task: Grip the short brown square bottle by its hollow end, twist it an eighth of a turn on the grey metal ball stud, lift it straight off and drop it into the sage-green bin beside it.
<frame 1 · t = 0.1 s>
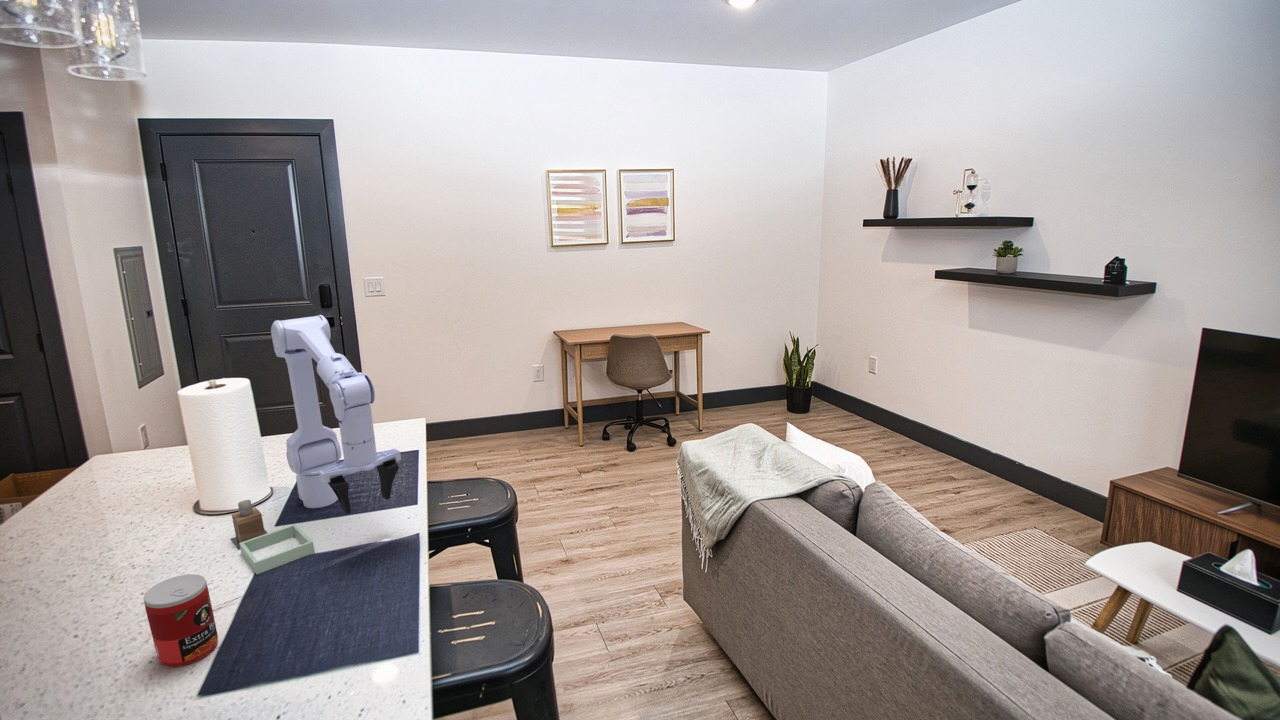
hand: (366, 504, 121), 10 cm above the kitchen island, tool pointing down, fingers open, 7 cm apart
stud plate: (252, 543, 127), on the kitchen island
bin: (278, 558, 122), on the kitchen island
brown square bottle: (251, 538, 127), point 1 cm above the kitchen island, touching stud plate
canned food: (189, 651, 97), on the kitchen island
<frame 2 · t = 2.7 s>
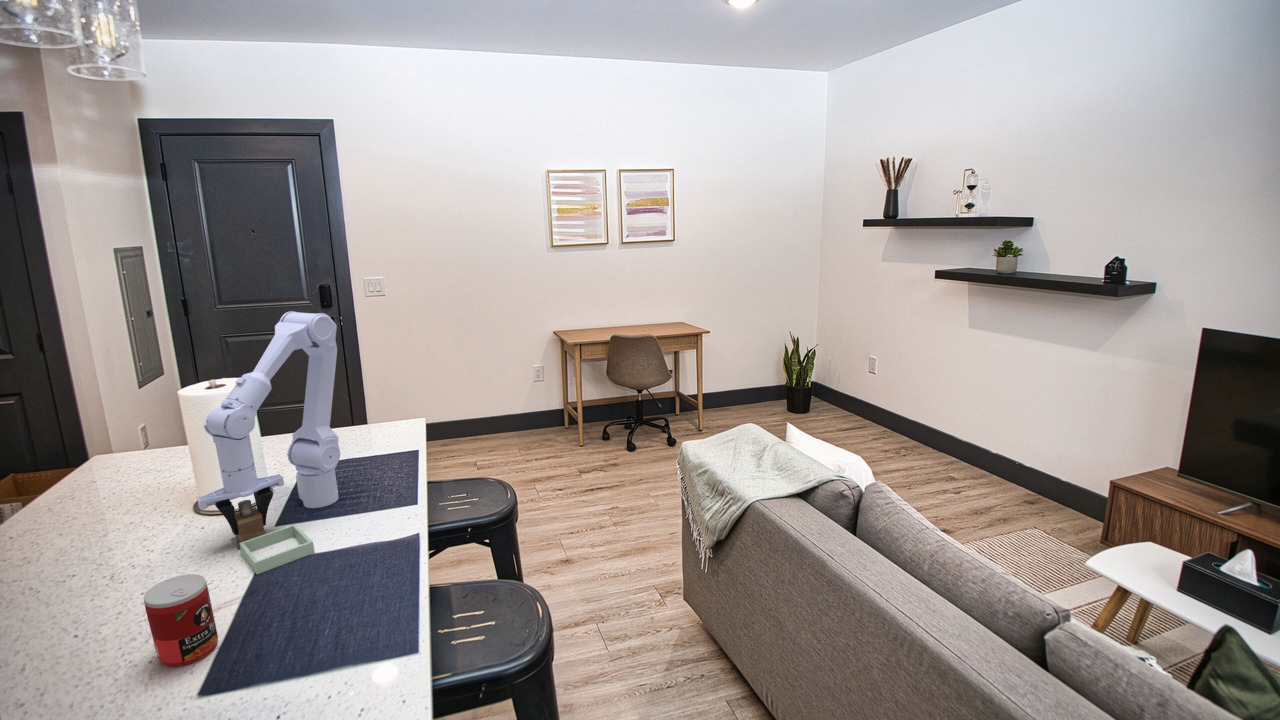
hand: (249, 528, 126), 3 cm above the kitchen island, tool pointing down, fingers closed on brown square bottle, 4 cm apart
brown square bottle: (251, 538, 127), point 1 cm above the kitchen island, touching gripper, stud plate
everything else where it was.
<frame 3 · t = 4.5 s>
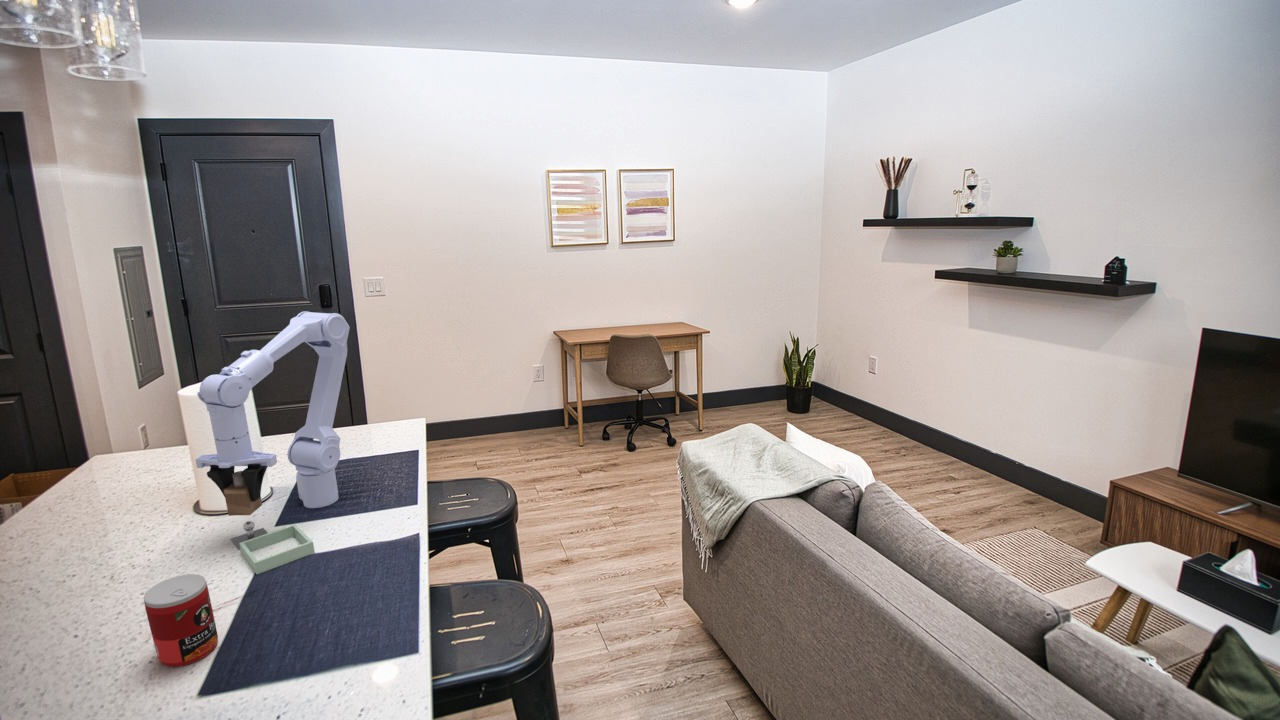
hand: (243, 499, 125), 10 cm above the kitchen island, tool pointing down, fingers closed on brown square bottle, 4 cm apart
brown square bottle: (245, 510, 125), point 8 cm above the kitchen island, touching gripper
everything else where it was.
when the fingers open (5 cm above the kitchen island, at t = 6.6 s): brown square bottle drops 2 cm, resting on bin.
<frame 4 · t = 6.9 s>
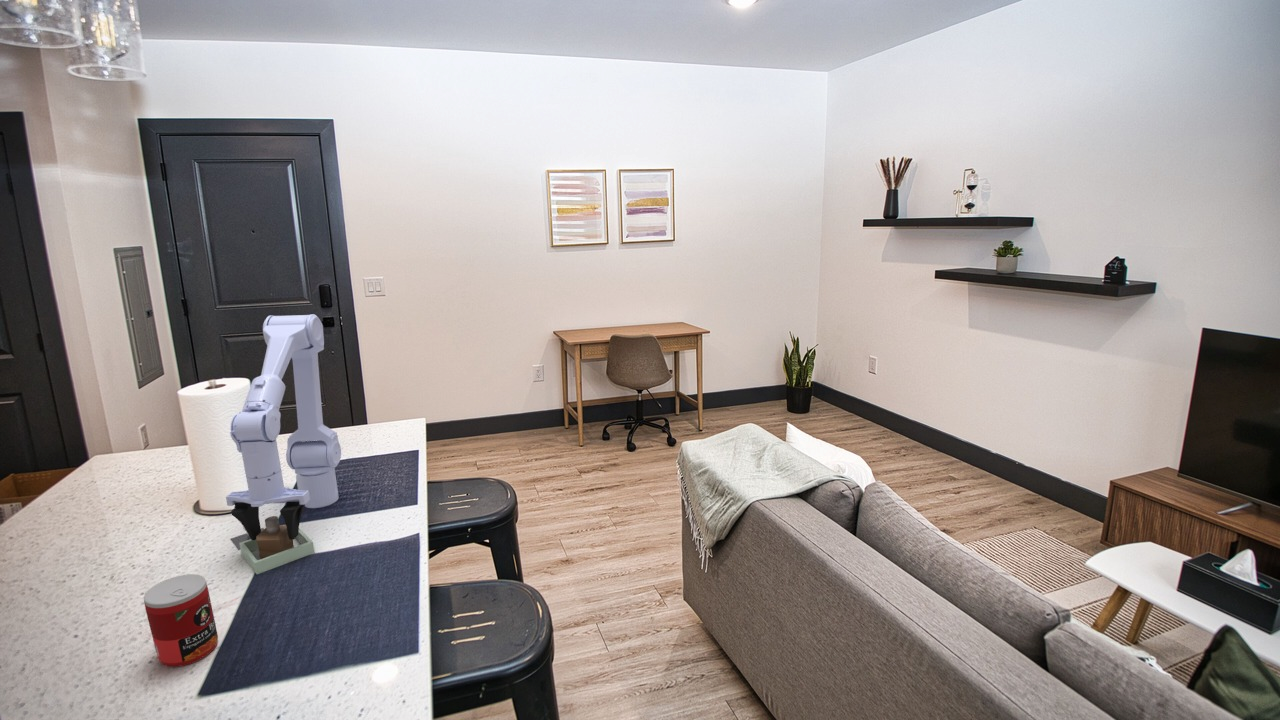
hand: (275, 537, 121), 5 cm above the kitchen island, tool pointing down, fingers open, 7 cm apart
brown square bottle: (278, 556, 121), point 1 cm above the kitchen island, touching bin
everything else where it was.
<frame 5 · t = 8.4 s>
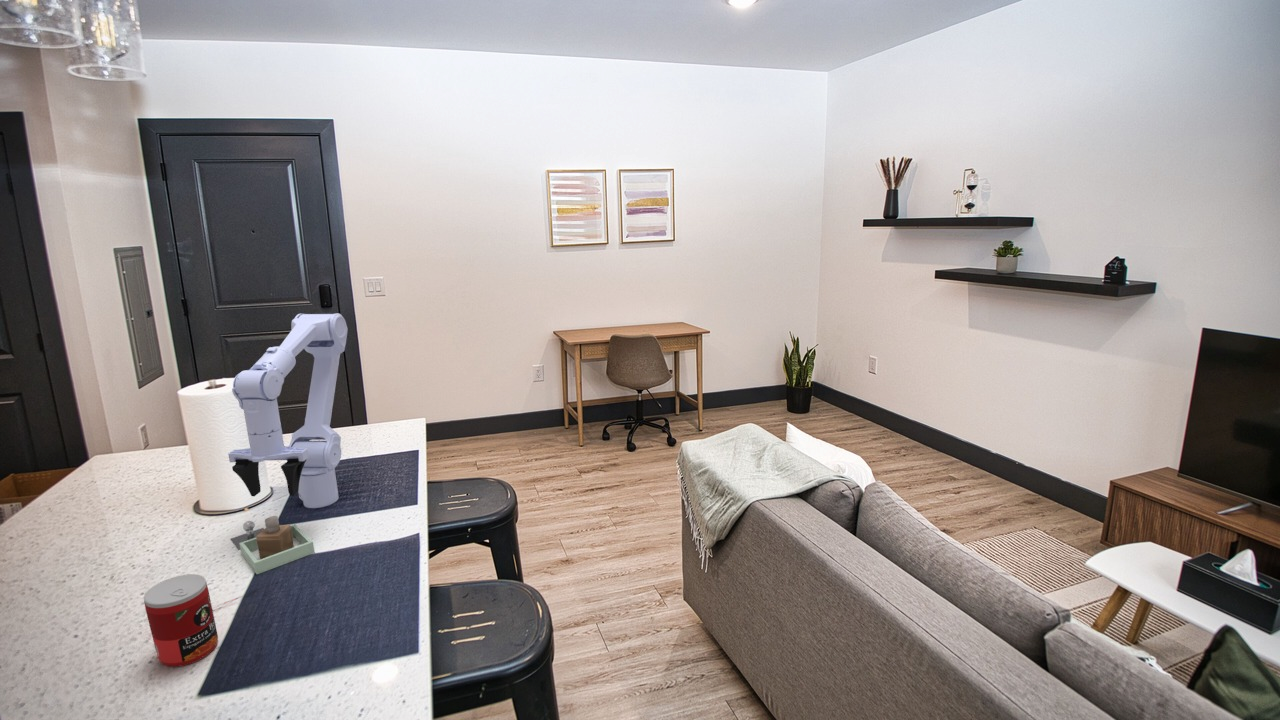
hand: (275, 493, 126), 10 cm above the kitchen island, tool pointing down, fingers open, 7 cm apart
nothing on the kitchen island moved.
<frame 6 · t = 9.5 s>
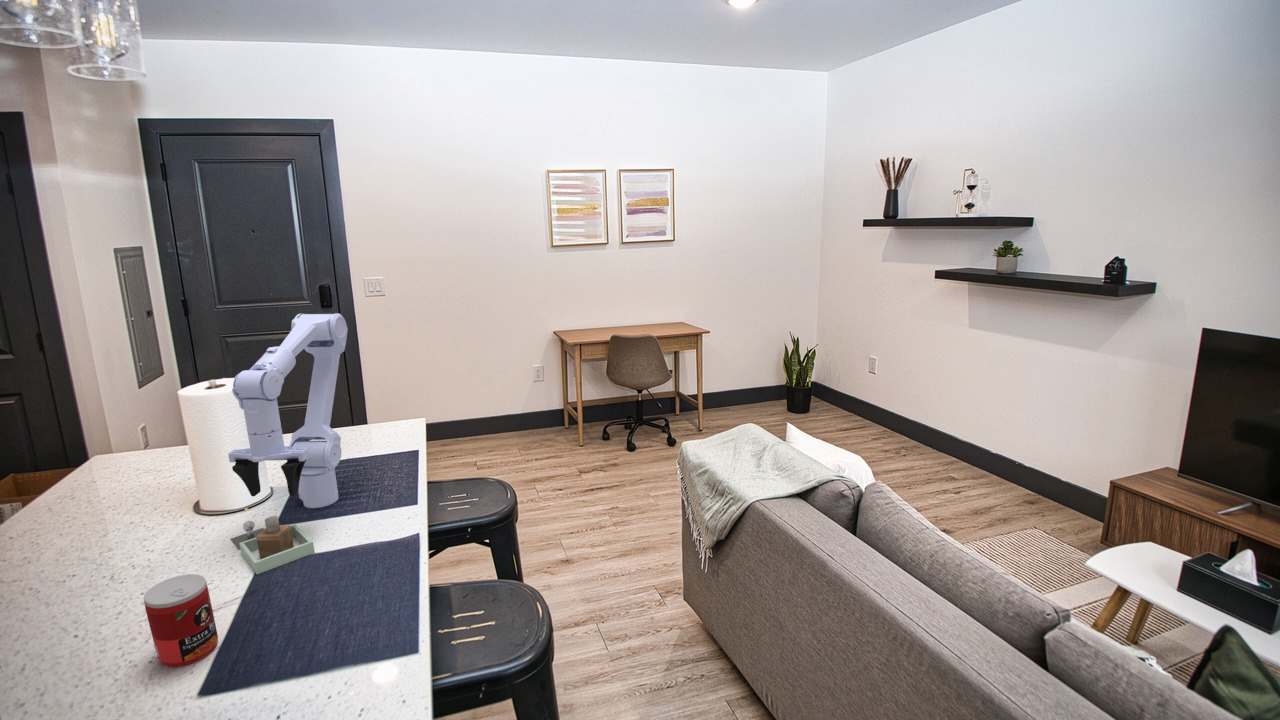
hand: (275, 493, 126), 10 cm above the kitchen island, tool pointing down, fingers open, 7 cm apart
nothing on the kitchen island moved.
at the end: brown square bottle inside the target area on the bin (0.1 cm from its centre), point 0.6 cm above the bin's base; brown square bottle moved 10.3 cm from its start; the gripper is holding nothing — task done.
